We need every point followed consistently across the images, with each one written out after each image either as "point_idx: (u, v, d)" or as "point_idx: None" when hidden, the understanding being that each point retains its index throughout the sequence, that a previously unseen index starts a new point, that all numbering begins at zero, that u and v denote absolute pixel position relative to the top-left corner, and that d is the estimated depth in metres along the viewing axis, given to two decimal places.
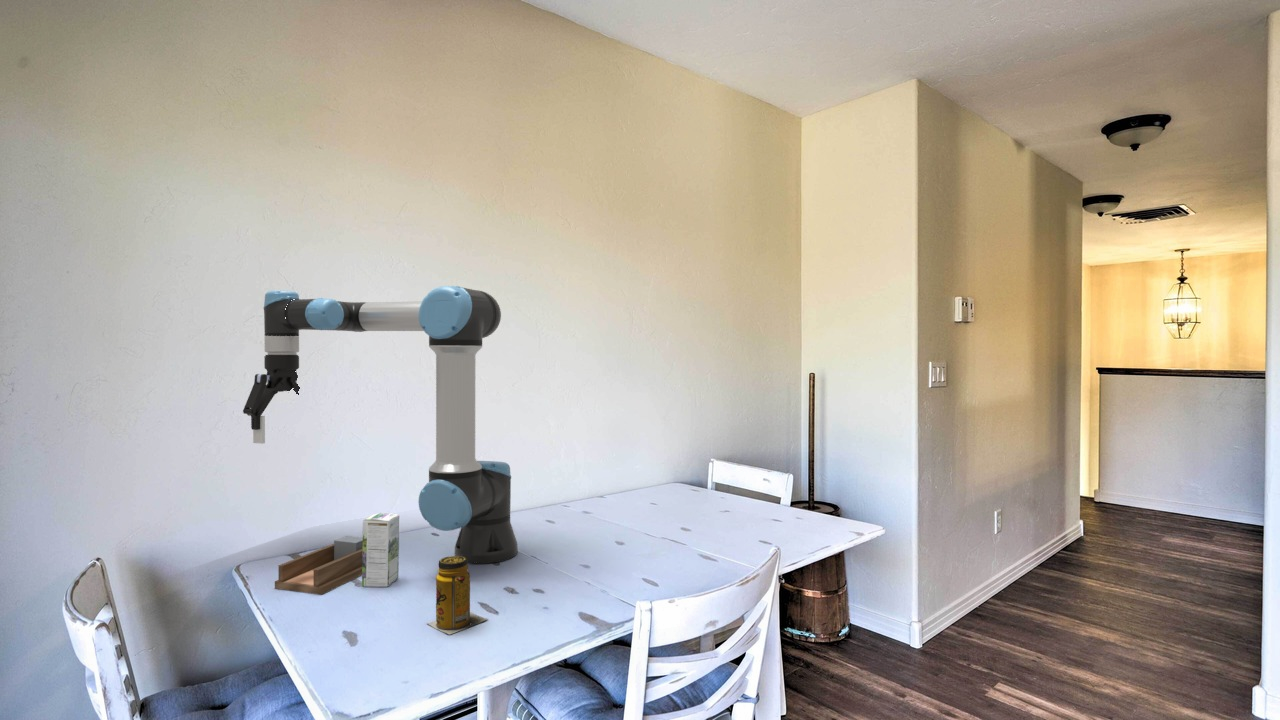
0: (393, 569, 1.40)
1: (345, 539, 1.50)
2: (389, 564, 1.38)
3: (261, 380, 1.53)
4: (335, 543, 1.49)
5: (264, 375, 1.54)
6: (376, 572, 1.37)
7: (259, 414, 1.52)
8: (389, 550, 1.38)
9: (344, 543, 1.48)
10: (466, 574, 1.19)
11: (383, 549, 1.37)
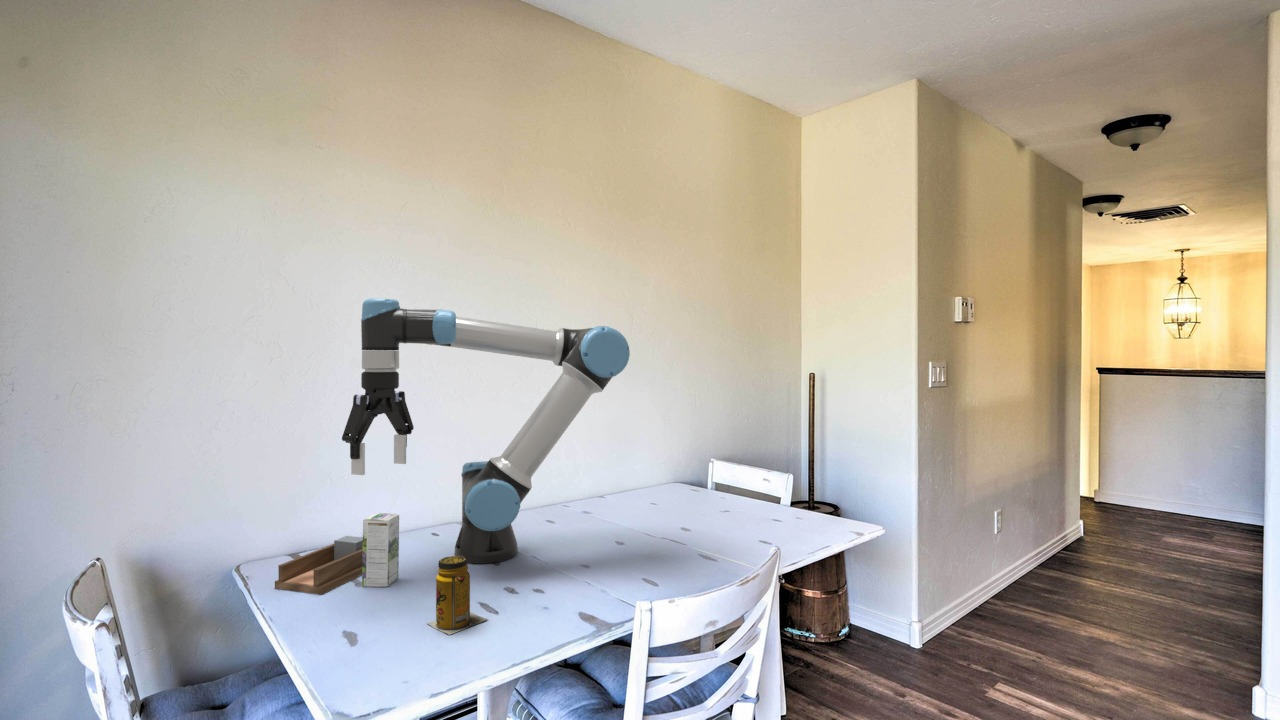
0: (393, 569, 1.40)
1: (345, 539, 1.50)
2: (389, 564, 1.38)
3: (361, 402, 1.33)
4: (335, 543, 1.49)
5: (364, 396, 1.33)
6: (376, 572, 1.37)
7: (359, 441, 1.32)
8: (389, 550, 1.38)
9: (344, 543, 1.48)
10: (466, 574, 1.19)
11: (383, 549, 1.37)
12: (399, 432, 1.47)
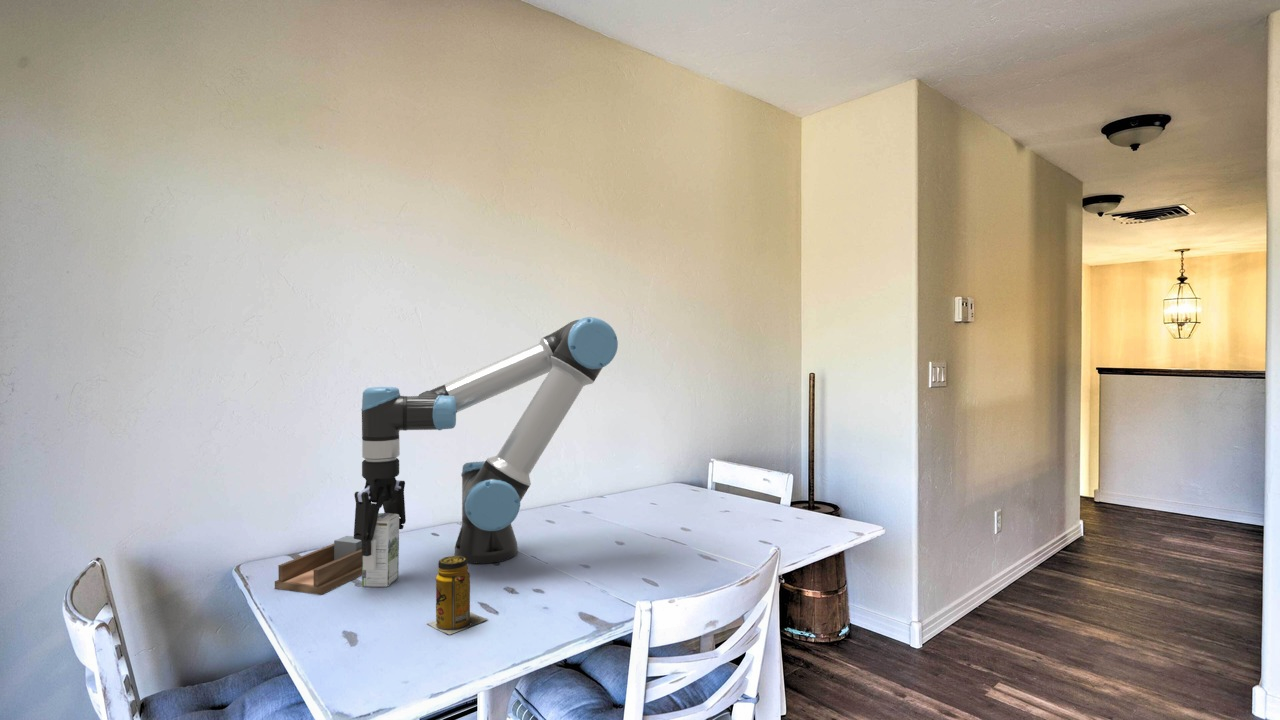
0: (393, 569, 1.40)
1: (345, 539, 1.50)
2: (389, 564, 1.38)
3: (363, 500, 1.34)
4: (335, 543, 1.49)
5: (365, 494, 1.34)
6: (376, 572, 1.37)
7: (371, 539, 1.35)
8: (389, 550, 1.38)
9: (344, 543, 1.48)
10: (466, 574, 1.19)
11: (383, 549, 1.37)
12: None
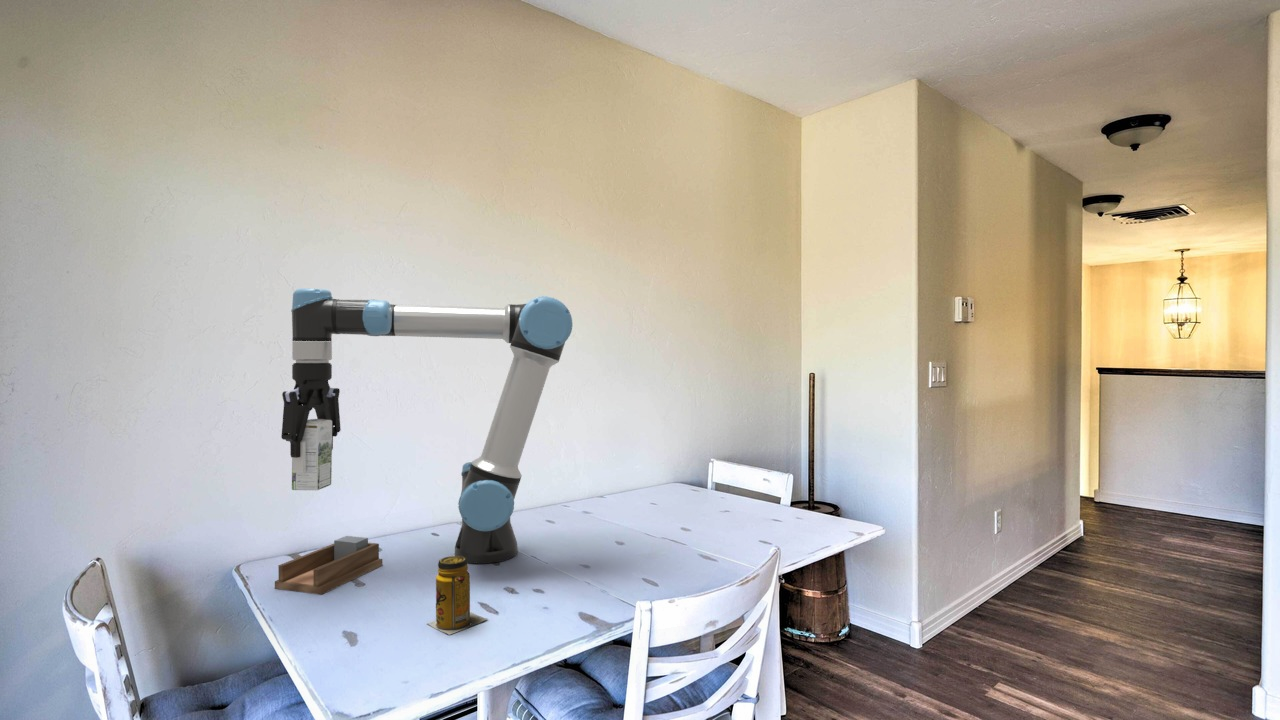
0: (325, 474, 1.38)
1: (345, 539, 1.50)
2: (319, 468, 1.36)
3: (291, 399, 1.32)
4: (335, 543, 1.49)
5: (293, 393, 1.31)
6: (305, 475, 1.35)
7: (300, 440, 1.33)
8: (320, 453, 1.36)
9: (344, 543, 1.48)
10: (466, 574, 1.19)
11: (313, 452, 1.35)
12: None
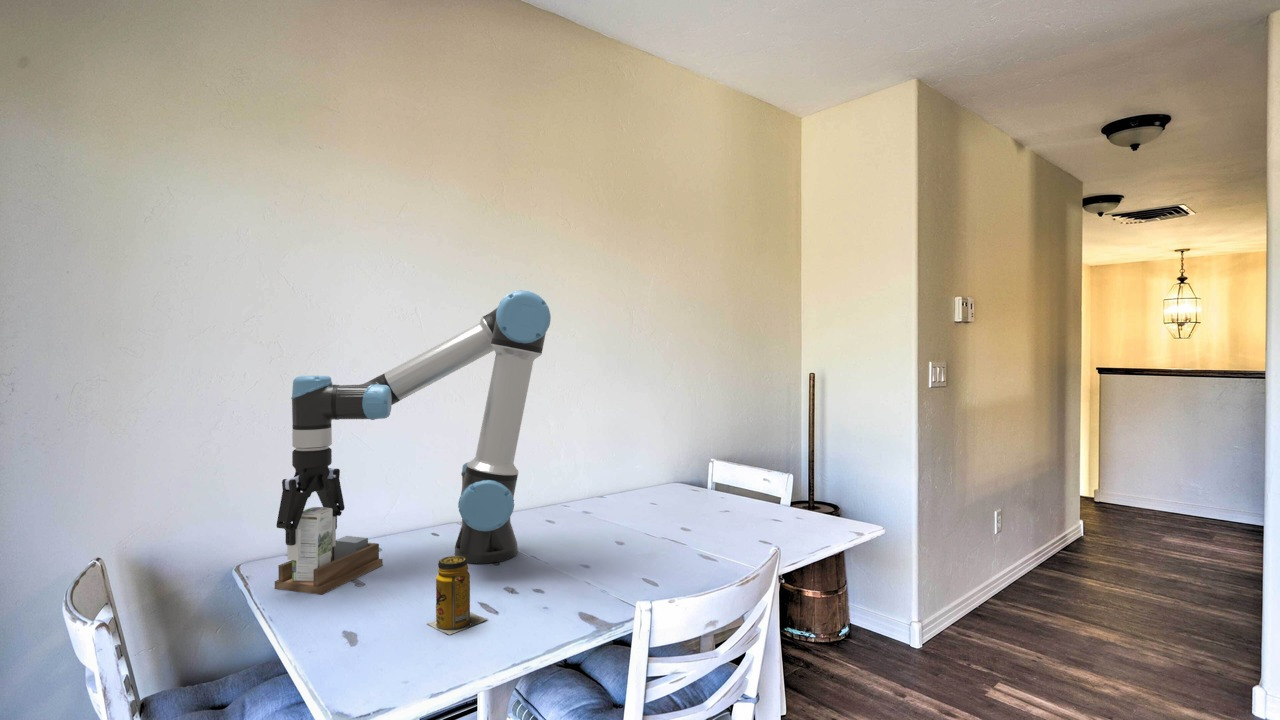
0: (325, 563, 1.39)
1: (345, 539, 1.50)
2: (319, 558, 1.36)
3: (290, 487, 1.32)
4: None
5: (293, 481, 1.32)
6: (305, 566, 1.36)
7: (295, 528, 1.32)
8: (320, 544, 1.36)
9: (344, 543, 1.48)
10: (466, 574, 1.19)
11: (313, 543, 1.36)
12: None
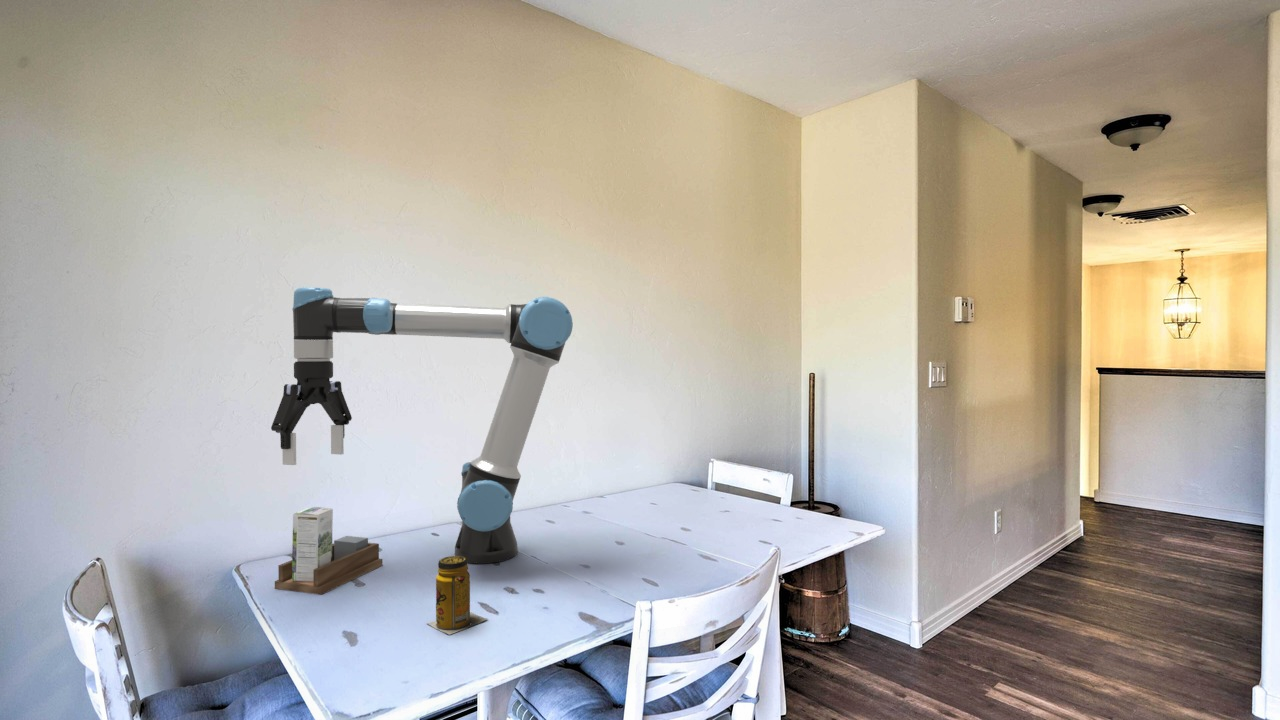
0: (325, 564, 1.39)
1: (345, 539, 1.50)
2: (319, 559, 1.36)
3: (291, 391, 1.32)
4: (335, 543, 1.49)
5: (295, 385, 1.32)
6: (306, 567, 1.36)
7: (290, 431, 1.31)
8: (320, 544, 1.36)
9: (344, 543, 1.48)
10: (466, 574, 1.19)
11: (313, 543, 1.36)
12: (336, 422, 1.46)
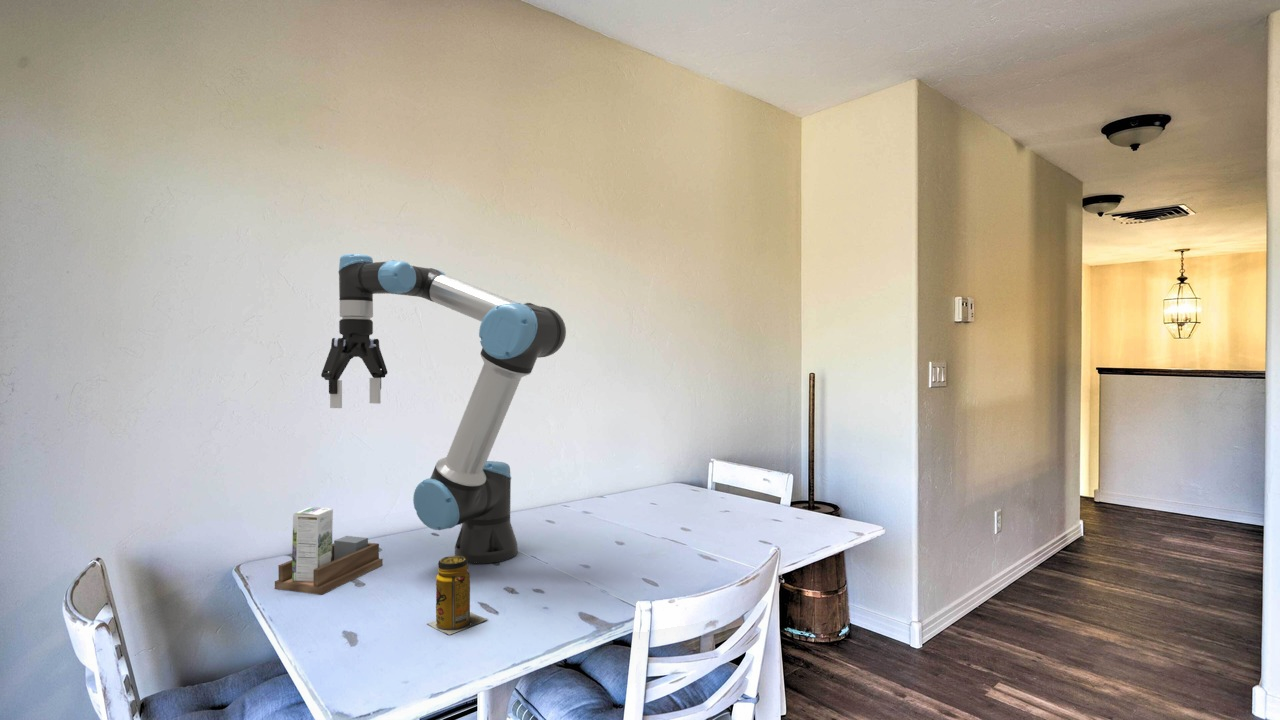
0: (325, 564, 1.39)
1: (345, 539, 1.50)
2: (319, 559, 1.36)
3: (338, 344, 1.51)
4: (335, 543, 1.49)
5: (341, 339, 1.51)
6: (306, 567, 1.36)
7: (337, 378, 1.50)
8: (320, 544, 1.36)
9: (344, 543, 1.48)
10: (466, 574, 1.19)
11: (313, 543, 1.36)
12: (374, 375, 1.65)
